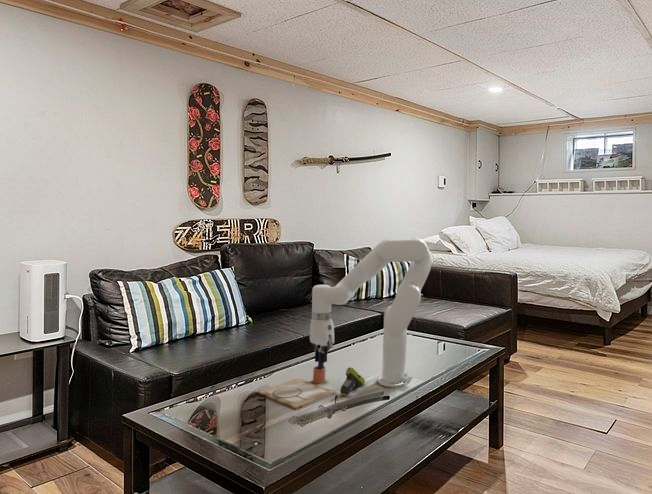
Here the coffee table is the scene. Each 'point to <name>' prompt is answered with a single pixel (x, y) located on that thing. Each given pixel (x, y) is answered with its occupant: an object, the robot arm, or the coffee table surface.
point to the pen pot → (319, 375)
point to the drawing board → (296, 393)
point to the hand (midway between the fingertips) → (320, 361)
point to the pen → (320, 365)
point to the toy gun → (351, 381)
